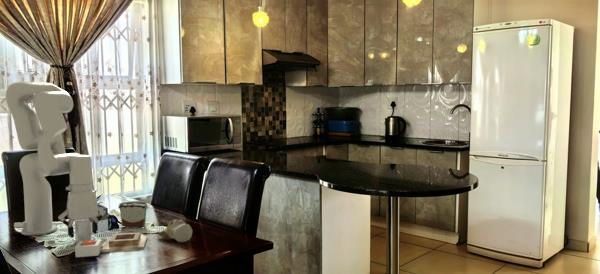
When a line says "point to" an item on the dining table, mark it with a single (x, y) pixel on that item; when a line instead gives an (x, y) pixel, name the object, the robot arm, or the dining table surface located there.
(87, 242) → the button
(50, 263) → the dining table surface
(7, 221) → the dining table surface
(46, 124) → the robot arm
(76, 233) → the block
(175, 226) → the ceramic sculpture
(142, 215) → the food container
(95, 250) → the button box
